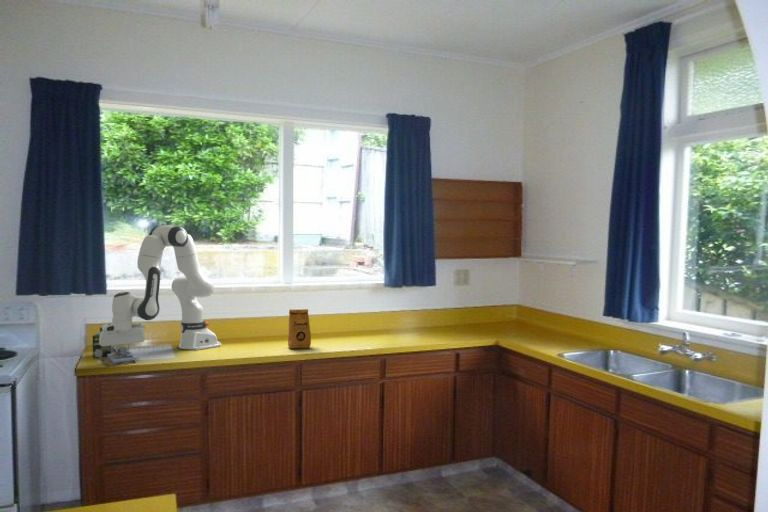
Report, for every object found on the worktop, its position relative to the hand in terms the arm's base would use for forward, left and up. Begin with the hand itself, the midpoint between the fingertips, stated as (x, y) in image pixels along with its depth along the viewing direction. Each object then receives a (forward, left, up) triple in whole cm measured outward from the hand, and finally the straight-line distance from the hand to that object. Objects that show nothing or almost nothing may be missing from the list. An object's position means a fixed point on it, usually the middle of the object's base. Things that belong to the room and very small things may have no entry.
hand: (122, 353), depth 269 cm
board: (+2, 0, -4) cm, 4 cm away
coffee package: (-87, +20, -4) cm, 90 cm away
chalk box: (+5, -16, -4) cm, 17 cm away
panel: (0, 0, -3) cm, 3 cm away
